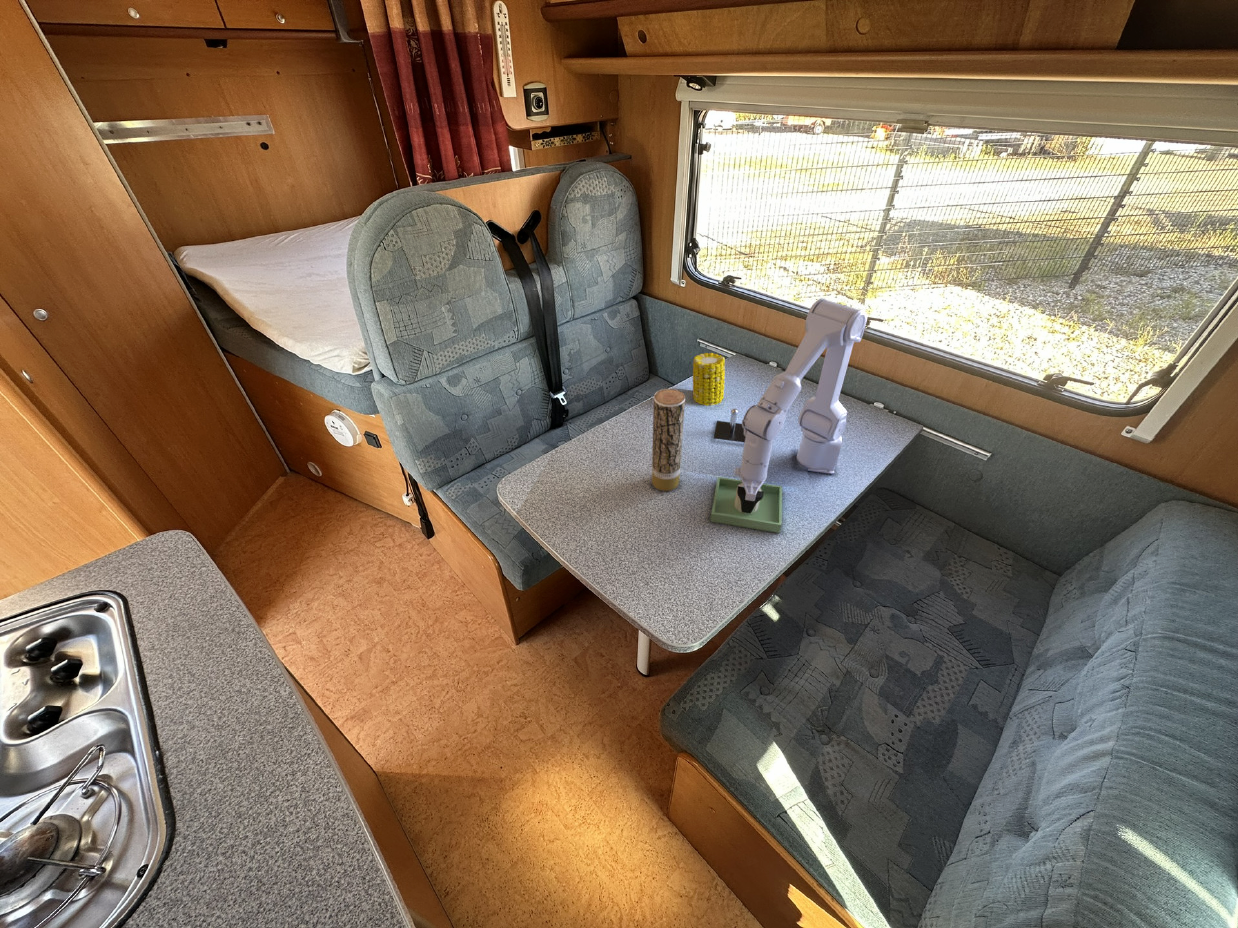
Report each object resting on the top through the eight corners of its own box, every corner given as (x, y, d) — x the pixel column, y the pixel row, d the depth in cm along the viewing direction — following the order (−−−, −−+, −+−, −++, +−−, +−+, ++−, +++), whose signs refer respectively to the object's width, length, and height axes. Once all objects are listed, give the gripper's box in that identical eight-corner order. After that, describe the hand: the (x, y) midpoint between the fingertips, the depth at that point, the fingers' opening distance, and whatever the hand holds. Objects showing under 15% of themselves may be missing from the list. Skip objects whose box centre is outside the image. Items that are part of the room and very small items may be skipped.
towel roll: (758, 500, 116) (761, 484, 113) (757, 515, 112) (760, 499, 109) (735, 496, 117) (738, 480, 114) (733, 511, 113) (736, 495, 110)
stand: (748, 427, 141) (752, 402, 135) (746, 445, 134) (750, 420, 129) (716, 423, 142) (719, 398, 137) (713, 441, 136) (716, 416, 131)
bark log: (677, 493, 119) (683, 406, 104) (649, 490, 120) (651, 403, 105) (680, 476, 124) (686, 390, 109) (653, 473, 126) (656, 387, 110)
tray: (780, 493, 118) (782, 486, 117) (779, 533, 109) (781, 525, 107) (716, 484, 122) (717, 476, 120) (710, 521, 112) (711, 513, 110)
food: (705, 415, 149) (687, 401, 156) (737, 398, 151) (717, 385, 158) (698, 373, 139) (679, 360, 146) (732, 355, 141) (711, 343, 148)
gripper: (739, 435, 112) (732, 480, 121) (734, 475, 101) (726, 521, 110) (771, 439, 111) (761, 485, 119) (769, 480, 100) (759, 527, 108)
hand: (747, 502), depth 114 cm, fingers closed on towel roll, 5 cm apart
